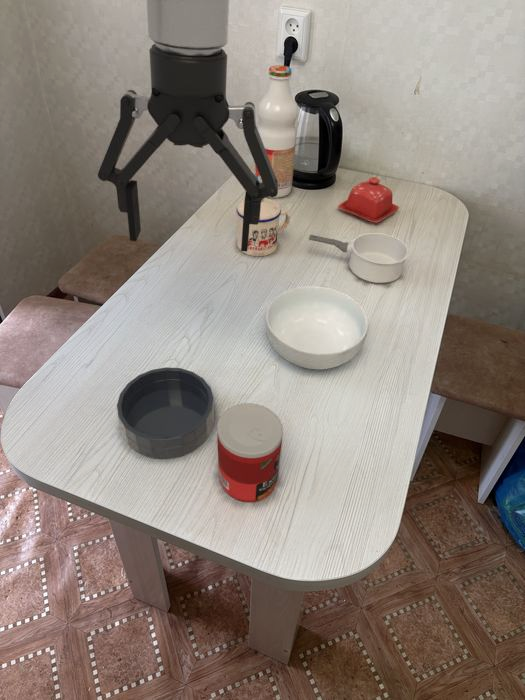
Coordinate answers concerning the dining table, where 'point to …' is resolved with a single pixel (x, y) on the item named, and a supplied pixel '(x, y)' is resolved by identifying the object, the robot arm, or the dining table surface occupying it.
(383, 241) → the saucepan
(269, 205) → the teacup with lid
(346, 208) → the butter dish
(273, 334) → the cereal bowl
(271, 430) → the canned food
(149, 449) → the dark grey round dish
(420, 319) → the dining table surface
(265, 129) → the fruit juice
